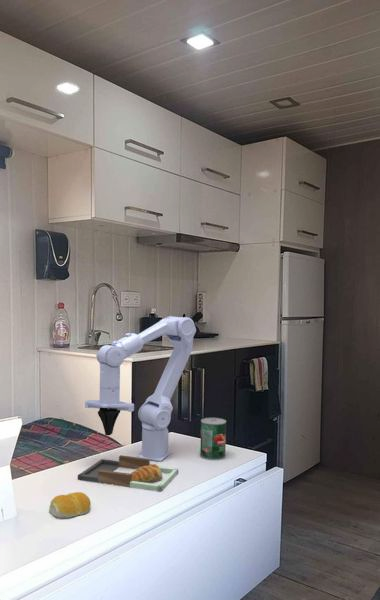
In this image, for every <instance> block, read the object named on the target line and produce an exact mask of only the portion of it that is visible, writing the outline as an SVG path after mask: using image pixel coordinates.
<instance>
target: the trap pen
mask: <svg viewBox="0 0 380 600" xmlns="http://www.w3.org/2000/svg"><path fill="white" fill-rule="evenodd" d="M118 468H120V467H119V460H111V459H103V458H101V459H100V460H98V461H96V462H95V463H94V464H93V465H91V466H90V467H88V468H86V469H85V470H83V471H82V472H80V473H78V474H77V480H78V481H84V482H89V483H90V482H91V483H97V484H98V471H99V470H106V471H114V472H115V471H116V470H117V469H118Z"/></svg>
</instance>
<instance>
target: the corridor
mask: <svg viewBox="0 0 380 600" xmlns="http://www.w3.org/2000/svg"><path fill="white" fill-rule="evenodd" d="M118 461H119V467H118V468H123V469H124V468H125V469H132V470H137V469H138V468H139V467H143V466H149V465H150V464H151V460H150V459H147V458H139V457H137V456H131V455H130V456H128V455H119V456H118ZM131 481H132V474H130V473H128V472H121V471H115V470H114V471H106V470H99V471H98V483H99V484H104V483H106V485H111V484H113V485H112V486H118V487H120V486H121V487H126V488H131V487H130V482H131ZM98 483H97V484H98Z"/></svg>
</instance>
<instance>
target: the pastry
mask: <svg viewBox="0 0 380 600" xmlns="http://www.w3.org/2000/svg"><path fill="white" fill-rule="evenodd" d="M159 466H160V465H158V464H156V463H153V464H152V463H150V465H149V466H143V467H139V468H138V469H134V471H132V472H130V473H129V474H132V481H137V482H144V483H151V484H154V483H157V482H159V481H161V480H162V479H163V473H162V472H161V471H160V468H159Z"/></svg>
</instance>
